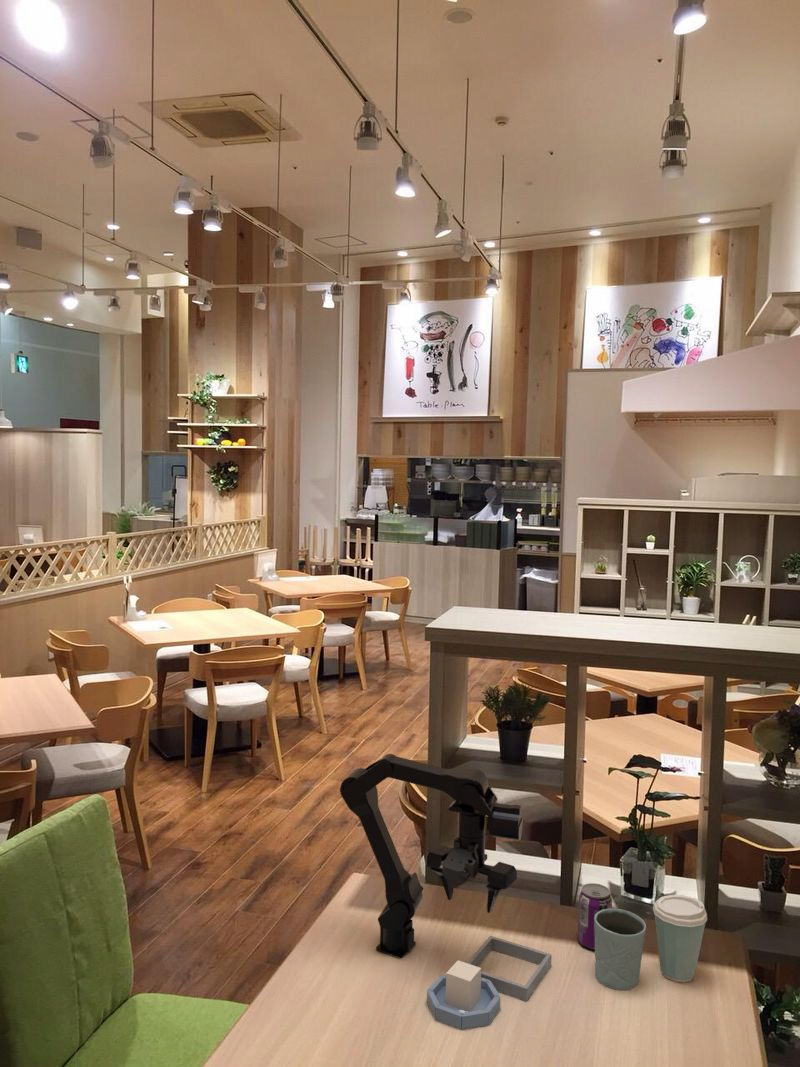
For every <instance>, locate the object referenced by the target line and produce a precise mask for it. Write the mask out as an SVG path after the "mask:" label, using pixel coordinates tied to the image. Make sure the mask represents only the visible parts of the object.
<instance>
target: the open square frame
mask: <svg viewBox="0 0 800 1067" xmlns="http://www.w3.org/2000/svg"><path fill="white" fill-rule="evenodd" d="M491 951H496V952H499V953H502V954H504V955H508V956H511V957H514V958H517V959H521V960H524V961H527V962H530V963H533V964H537V965H538V966H537V967H536V969H535V970H534V972H533V973H532V975H531V976H530V977H529V979H528V980H527V981H526V983H525V985H524V984H522V983H518V982H515V981H512V980H509V979H506V978H503V977H501V976H497V975H494V974H491V973H488V972H485V971H483V970H481V977H482V978H485V979H488V980H490V981H491V982H492V984H493V985H494V987H495V989H496V990H497V992H498V993H501V994H503V995H507V996H509V997H513V998H516V999H518V1000H522V1001H524V1002H528V1000H529V999H530V997H531V996H532V995H533V994H534V992H535V991H536V989H537V987H538V986H539V984H540V983H541V981H543V979H544V977H545V976H546V974H547V973H548V971H549V970H550V968H551V967H552V953H549V952H544V951H542V950H539V949H535V948H533V947H532V948H531V947H528V946H525V945H522V944H518V943H516V942H513V941H509V940H507V939H502V938H499V937H496V936H493V935H489V936H488V938H486V939H485V941H484V942H483V943H482V944H481V945H480V947H478V949H477V950H476V951H475V953H473V954H472V955H471V957H470V958H469V959H468V961H466V963H468V964H471V965H474V966H477V967H479V965H480V964H482V962H483V961H484V960H485V958H486V957H487V956H489V954H490V952H491Z"/></svg>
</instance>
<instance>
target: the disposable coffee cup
mask: <svg viewBox="0 0 800 1067" xmlns="http://www.w3.org/2000/svg"><path fill="white" fill-rule="evenodd" d="M705 908H706V907H705V905H704V903H703V901H701V900H698V899H697V898H696V897H691V896H687V895H684V894H681V895H680V894H669V895H665V896H663V895H662V896H661V897H659V898H658V899H657V900H656V901H655V902H654V903H653V906H652V909H653V910H652V911H653V914H654V922H655V932H656V941H657V942H656V943H657V950H658V959H659V968H660V971H661V973H662V976H664V977H665V979H668V980H670V981H672V982H675V983H683V984H684V983H688V982H691V981H692V980H693V979H694V976H695V975H696V971H697V965H698V961H699V956H700V951H701V947H702V941H703V937H704V931H705V927H706V922H707V921H708V914H707V911H706V909H705Z"/></svg>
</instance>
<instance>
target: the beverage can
mask: <svg viewBox="0 0 800 1067" xmlns="http://www.w3.org/2000/svg"><path fill="white" fill-rule="evenodd" d="M580 890H581V891H580V892H579V895H578V914H577V915H578V916H577V918H578V920H577V941H578V942H579V944H581V945H582V946H585V947H586V948H587V949H591V950H595V926H594V917H595V914H596V913H597V912H599V911H601V910H604V909H613V898H612V896H611V890H610V889H609V887H607V886H605V885H604V884H600V883H594V882H592V883H591V882H590V883H585V884H583V885H582V886H581V888H580Z"/></svg>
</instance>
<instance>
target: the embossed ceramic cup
mask: <svg viewBox="0 0 800 1067" xmlns="http://www.w3.org/2000/svg"><path fill="white" fill-rule="evenodd" d="M594 926H595V949H594V959H595V963H594V971H595V972H594V974H595V975H594V976H595V978H596V980H597V981H598V983H600V984H601V985H603V986H604V987H606V988H609V989H611V990H615V991H629V990H632V989H635V988H636V987H637V986H638V983H639V981H640V980H639V979H640V974H641V973H640V972H641V967H642V960H643V954H644V953H643V951H644V946H643V945H644V942H645V938H646V929H647V925H646V923H645V920H643V919H642V917H640V916H639V915H637V914H635V913H633V912H631V911H628V910H625V909H622V908H621V909H620V908H612V909H604V910H601V911H599V912H597V913H596V914H595V917H594Z"/></svg>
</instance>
